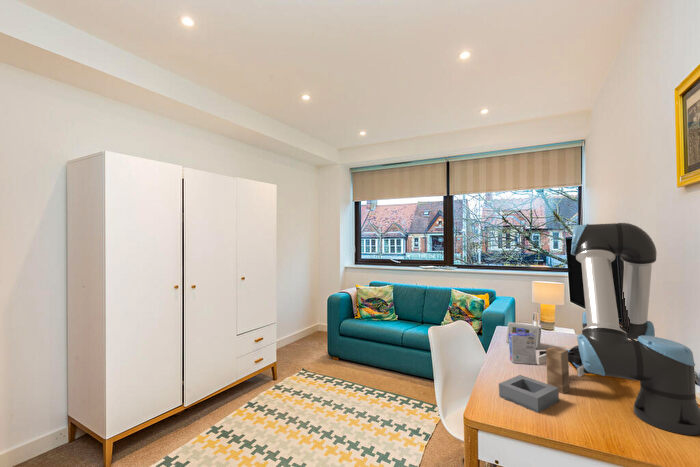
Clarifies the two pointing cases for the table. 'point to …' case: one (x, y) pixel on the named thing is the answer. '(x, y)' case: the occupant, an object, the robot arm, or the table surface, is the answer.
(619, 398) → the table surface
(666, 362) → the robot arm
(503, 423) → the table surface
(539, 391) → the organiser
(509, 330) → the digital clock
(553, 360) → the walnut block
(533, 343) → the ink cartridge box
